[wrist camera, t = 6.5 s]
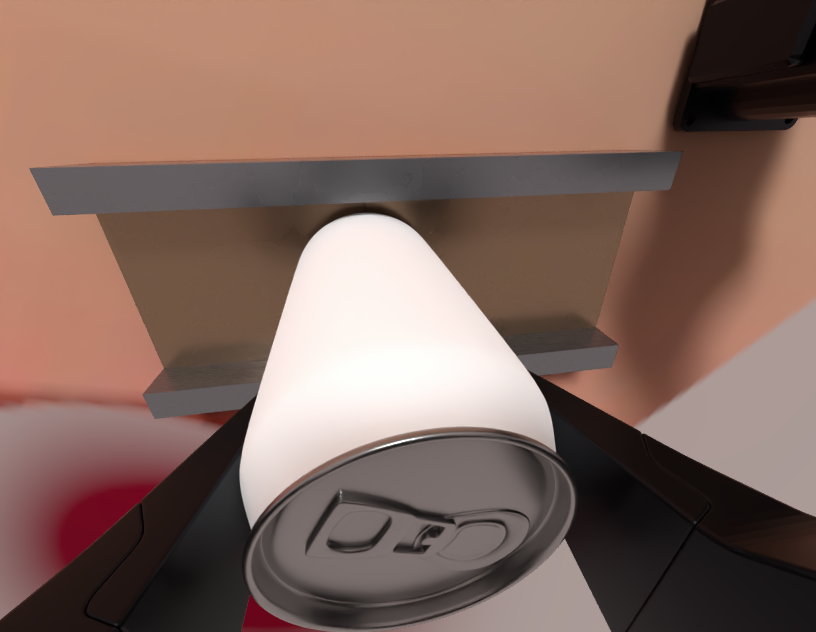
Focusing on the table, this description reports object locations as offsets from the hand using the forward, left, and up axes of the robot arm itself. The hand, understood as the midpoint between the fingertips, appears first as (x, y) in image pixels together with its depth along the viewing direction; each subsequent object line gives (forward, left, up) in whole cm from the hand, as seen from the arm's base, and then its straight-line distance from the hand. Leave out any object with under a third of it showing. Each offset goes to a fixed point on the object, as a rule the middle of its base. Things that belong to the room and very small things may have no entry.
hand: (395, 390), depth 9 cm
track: (-1, 0, -9) cm, 9 cm away
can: (0, 0, -8) cm, 8 cm away
